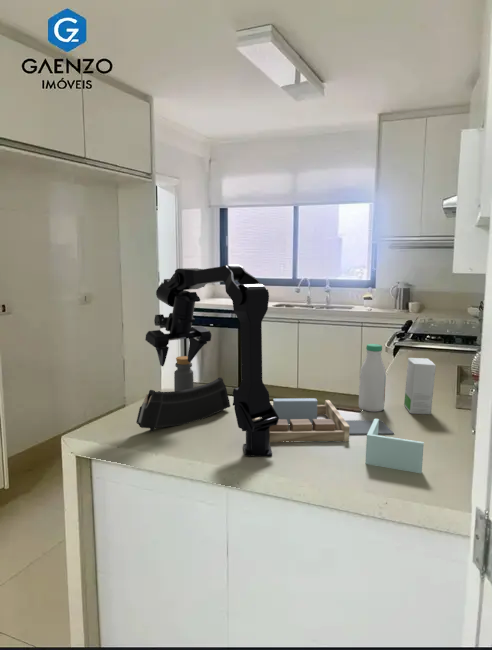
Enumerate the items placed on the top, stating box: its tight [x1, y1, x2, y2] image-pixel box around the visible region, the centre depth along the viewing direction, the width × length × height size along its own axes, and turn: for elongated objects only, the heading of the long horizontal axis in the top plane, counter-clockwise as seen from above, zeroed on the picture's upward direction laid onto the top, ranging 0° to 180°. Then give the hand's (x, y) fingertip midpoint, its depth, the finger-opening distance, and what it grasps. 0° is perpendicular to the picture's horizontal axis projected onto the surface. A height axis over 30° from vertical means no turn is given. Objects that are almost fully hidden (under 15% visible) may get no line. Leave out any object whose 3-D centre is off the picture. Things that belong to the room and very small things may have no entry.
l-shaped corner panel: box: [365, 418, 425, 474], centre depth 112 cm, size 12×12×8 cm
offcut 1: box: [270, 419, 289, 431], centre depth 125 cm, size 4×5×4 cm
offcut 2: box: [289, 419, 312, 431], centre depth 125 cm, size 4×5×4 cm
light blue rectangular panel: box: [272, 397, 319, 424], centre depth 134 cm, size 2×12×7 cm, turn 93°
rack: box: [252, 399, 350, 443], centre depth 132 cm, size 22×23×4 cm
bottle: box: [173, 355, 194, 391], centre depth 150 cm, size 6×6×15 cm
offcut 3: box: [312, 418, 336, 431], centre depth 125 cm, size 4×5×4 cm
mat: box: [344, 419, 395, 436], centre depth 132 cm, size 10×13×1 cm
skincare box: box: [403, 357, 437, 415], centre depth 147 cm, size 8×7×16 cm
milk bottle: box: [358, 343, 387, 412], centre depth 148 cm, size 8×8×20 cm
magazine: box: [136, 377, 231, 433], centre depth 135 cm, size 17×3×30 cm
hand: (175, 363), depth 138 cm, fingers open, 9 cm apart
